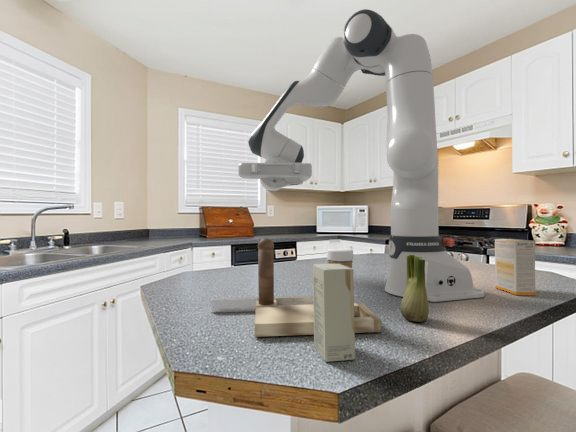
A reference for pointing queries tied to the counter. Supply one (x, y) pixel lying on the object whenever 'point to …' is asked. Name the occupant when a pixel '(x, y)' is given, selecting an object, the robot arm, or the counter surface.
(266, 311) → the wooden peg stand
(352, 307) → the skincare box
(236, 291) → the counter surface
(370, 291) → the counter surface
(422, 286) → the fennel bulb
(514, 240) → the supplement box
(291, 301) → the rail
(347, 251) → the sprinkles bottle
